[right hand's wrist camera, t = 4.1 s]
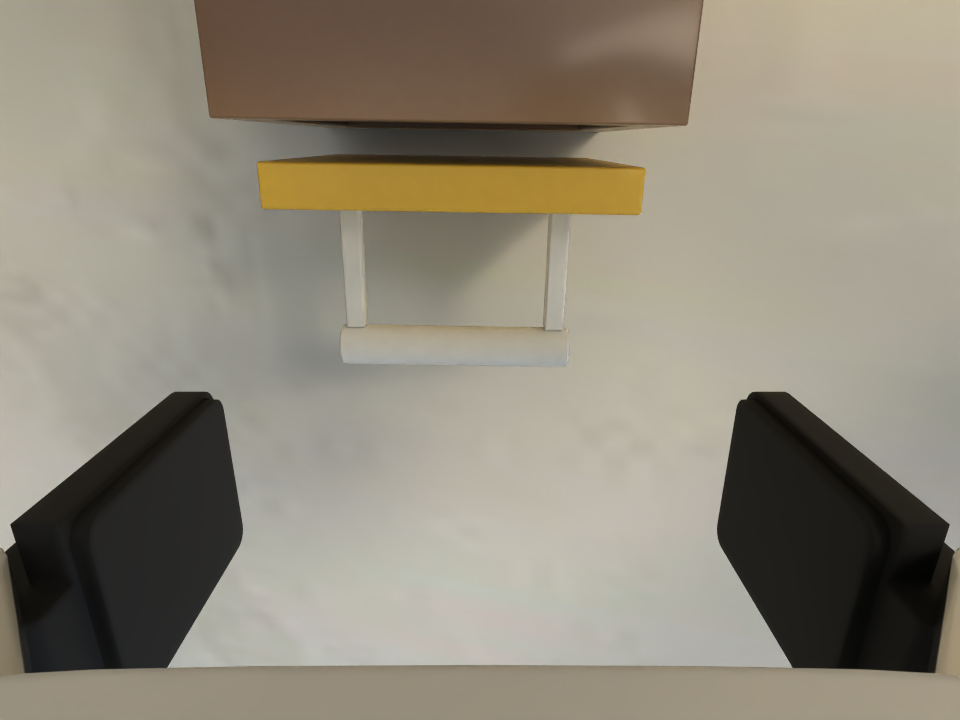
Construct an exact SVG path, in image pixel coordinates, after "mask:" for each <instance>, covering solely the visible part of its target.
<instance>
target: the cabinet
mask: <svg viewBox="0 0 960 720" xmlns="http://www.w3.org/2000/svg"><path fill="white" fill-rule="evenodd" d="M194 2H195V10H196V18H197V25H198V33H199V40H200V48H201V55H202V63H203V70H204V78H205V85H206V93H207V100H208V108H209V115H210V117H211V118H219V119H233V120H244V121H256V122H268V123H280V124H292V125H303V126H315V127H327V128H383V129H446V130H508V131H570V132H604V131H618V130H631V129H644V128H657V127H670V126H686V125H687V124H688V118H689V110H690V102H691V94H692V86H693V78H694V70H695V63H696V55H697V47H698V39H699V31H700V23H701V15H702V8H703V0H194Z"/></svg>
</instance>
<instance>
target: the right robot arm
mask: <svg viewBox="0 0 960 720" xmlns="http://www.w3.org/2000/svg"><path fill="white" fill-rule="evenodd" d="M10 525H11V528H12V531H13V535H14V538H15V541H16V543H15V544H14V545H12V546H11V547H10V548H9V549H8V550H7V551H5V552H4V550H3V549H2V548H0V720H960V548H958V549H957V550H956V552H955V551H953V550H952V549H951V548H950V547H949V546H948V545H946V544H945V543H944V541H945V538H946V535H947V531H948V528H949V525H950V524H948V523H947V522H946V521H945V520H944V519H942V518H941V517H940V516H939V515H937V514H936V513H935V512H934V511H932V510H931V509H930V508H929V507H928V506H926V505H925V504H924V503H923V502H921V501H920V500H919V499H918V498H916V497H915V496H914V495H913V494H912V493H910V492H909V491H908V490H907V489H905V488H904V487H903V486H902V485H900V484H899V483H898V482H897V481H896V480H894V479H893V478H892V477H891V476H889V475H888V474H887V473H886V472H885V471H883V470H882V469H881V468H880V467H878V466H877V465H876V464H875V463H873V462H872V461H871V460H870V459H869V458H867V457H866V456H865V455H864V454H862V453H861V452H860V451H859V450H857V449H856V448H855V447H854V446H853V445H851V444H850V443H849V442H848V441H846V440H845V439H844V438H843V437H841V436H840V435H839V434H838V433H837V432H835V431H834V430H833V429H832V428H830V427H829V426H828V425H827V424H826V423H824V422H823V421H822V420H821V419H819V418H818V417H817V416H816V415H814V414H813V413H812V412H811V411H810V410H808V409H807V408H806V407H805V406H803V405H802V404H801V403H800V402H798V401H797V400H796V399H795V398H794V397H792V396H791V395H790V394H789V393H786V392H752V393H751V394H749V396H748V398H747V400H741V401H740V402H739V403H738V405H737V409H736V415H735V421H734V427H733V433H732V439H731V445H730V451H729V457H728V463H727V469H726V476H725V482H724V488H723V494H722V500H721V506H720V512H719V518H718V524H717V535H718V540H719V543H720V546H721V548H722V549H723V551H724V553H725V554H726V556H727V558H728V560H729V561H730V563H731V565H732V566H733V568H734V570H735V571H736V573H737V575H738V576H739V578H740V580H741V581H742V583H743V585H744V586H745V588H746V590H747V591H748V593H749V595H750V596H751V598H752V600H753V601H754V603H755V605H756V607H757V608H758V610H759V612H760V613H761V615H762V617H763V618H764V620H765V622H766V623H767V625H768V627H769V628H770V630H771V632H772V633H773V635H774V637H775V638H776V640H777V642H778V643H779V645H780V647H781V648H782V650H783V652H784V654H785V655H786V657H787V659H788V660H789V662H790V664H791V665H792V667H793V668H766V667H713V666H546V665H414V666H247V667H194V668H167V667H168V665H169V664H170V662H171V660H172V659H173V657H174V655H175V654H176V652H177V650H178V648H179V647H180V645H181V643H182V642H183V640H184V638H185V637H186V635H187V633H188V632H189V630H190V628H191V627H192V625H193V623H194V622H195V620H196V618H197V617H198V615H199V613H200V612H201V610H202V608H203V607H204V605H205V603H206V601H207V600H208V598H209V596H210V595H211V593H212V591H213V590H214V588H215V586H216V585H217V583H218V581H219V580H220V578H221V576H222V575H223V573H224V571H225V570H226V568H227V566H228V565H229V563H230V561H231V560H232V558H233V556H234V554H235V553H236V551H237V549H238V548H239V546H240V543H241V540H242V535H243V524H242V518H241V512H240V506H239V500H238V494H237V488H236V482H235V476H234V469H233V463H232V457H231V451H230V445H229V439H228V433H227V427H226V421H225V415H224V409H223V405H222V403H221V402H220V401H219V400H213V398H212V396H211V394H209V393H208V392H174V393H171V394H170V395H169V396H168V397H166V398H165V399H164V400H163V401H162V402H160V403H159V404H158V405H157V406H155V407H154V408H153V409H152V410H150V411H149V412H148V413H147V414H146V415H144V416H143V417H142V418H141V419H139V420H138V421H137V422H136V423H134V424H133V425H132V426H131V427H130V428H128V429H127V430H126V431H125V432H123V433H122V434H121V435H120V436H119V437H117V438H116V439H115V440H114V441H112V442H111V443H110V444H109V445H107V446H106V447H105V448H104V449H103V450H101V451H100V452H99V453H98V454H96V455H95V456H94V457H93V458H91V459H90V460H89V461H88V462H87V463H85V464H84V465H83V466H82V467H80V468H79V469H78V470H77V471H75V472H74V473H73V474H72V475H71V476H69V477H68V478H67V479H66V480H64V481H63V482H62V483H61V484H60V485H58V486H57V487H56V488H55V489H53V490H52V491H51V492H50V493H48V494H47V495H46V496H45V497H44V498H42V499H41V500H40V501H39V502H37V503H36V504H35V505H34V506H32V507H31V508H30V509H29V510H28V511H26V512H25V513H24V514H23V515H21V516H20V517H19V518H18V519H16V520H15V521H14V522H13V523H12V524H10Z"/></svg>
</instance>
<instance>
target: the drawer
mask: <svg viewBox="0 0 960 720" xmlns="http://www.w3.org/2000/svg"><path fill="white" fill-rule="evenodd" d="M257 171H258V180H259V189H260V198H261V207H262V208H263V209H289V210H339V212H340V227H341V242H342V257H343V273H344V288H345V303H346V318H347V324H345V325H343V327H342V330H341V334H340V355H341V359H342V361H343V363H348V364H410V365H473V366H535V367H565V366H567V363H568V358H569V334H568V330H567V328H563V320H564V305H565V290H566V275H567V260H568V245H569V230H570V215H571V214H600V215H640V213H641V207H642V198H643V188H644V179H645V168H642V167H636V166H630V165H624V164H618V163H612V162H606V161H601V160H595V159H589V158H548V157H485V156H423V155H361V154H335V155H324V156H313V157H302V158H292V159H281V160H270V161H260V162H257ZM362 211H413V212H476V213H538V214H549V223H548V242H547V260H546V279H545V297H544V315H543V326H544V327H483V326H421V325H366V324H367V323H368V312H367V293H366V274H365V255H364V236H363V217H362Z"/></svg>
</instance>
